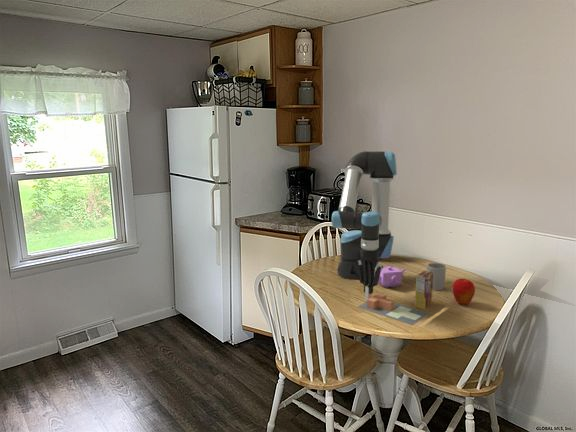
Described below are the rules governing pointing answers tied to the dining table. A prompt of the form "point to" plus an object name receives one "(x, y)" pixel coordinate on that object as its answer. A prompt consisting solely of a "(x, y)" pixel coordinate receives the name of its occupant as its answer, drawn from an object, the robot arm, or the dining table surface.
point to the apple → (463, 291)
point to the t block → (380, 302)
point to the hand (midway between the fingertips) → (368, 299)
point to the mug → (437, 275)
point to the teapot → (390, 277)
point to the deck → (399, 313)
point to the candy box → (424, 289)
